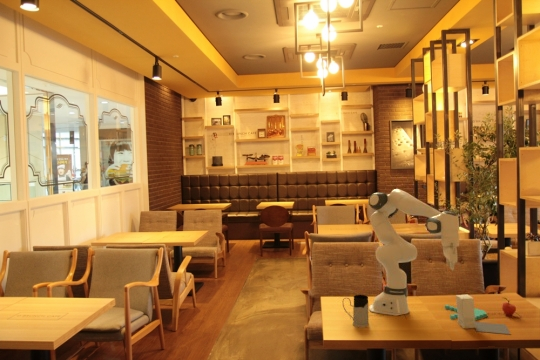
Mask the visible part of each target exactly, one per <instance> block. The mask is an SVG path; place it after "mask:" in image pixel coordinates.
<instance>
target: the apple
mask: <svg viewBox="0 0 540 360" xmlns="http://www.w3.org/2000/svg"><path fill="white" fill-rule="evenodd" d="M503 299H504V300H506V301H507V302H503V303H502V306H501V307H502V308H501V309H502V311H503V313H504V315H505V316H509V317H512V316H513V315H514V314H515V312H516V310H517V308H516V306H515V305H514V304H512V303H510V300H508V298H507V297H503Z"/></svg>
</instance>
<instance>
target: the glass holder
mask: <svg viewBox="0 0 540 360" xmlns="http://www.w3.org/2000/svg"><path fill="white" fill-rule="evenodd" d="M345 299H348V301H349V303H350V307H353V311H352V312H353V313H352V314H353V316H352V315H351V314H350V313H349V312H348V311H347V309H346V308H345V305H344V304H345V303H342V307H343V309H344V312H345V313H347V315H348V316H349V317H350V318H352V321H353V322H352V326H353V327H355V328H367V326H368V327H369V326H370V323H369V296H367V295H365V294H355V295H353V305H352V301H351V299H350V298H349V297H344V298H343V299H342V301H345Z"/></svg>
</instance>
